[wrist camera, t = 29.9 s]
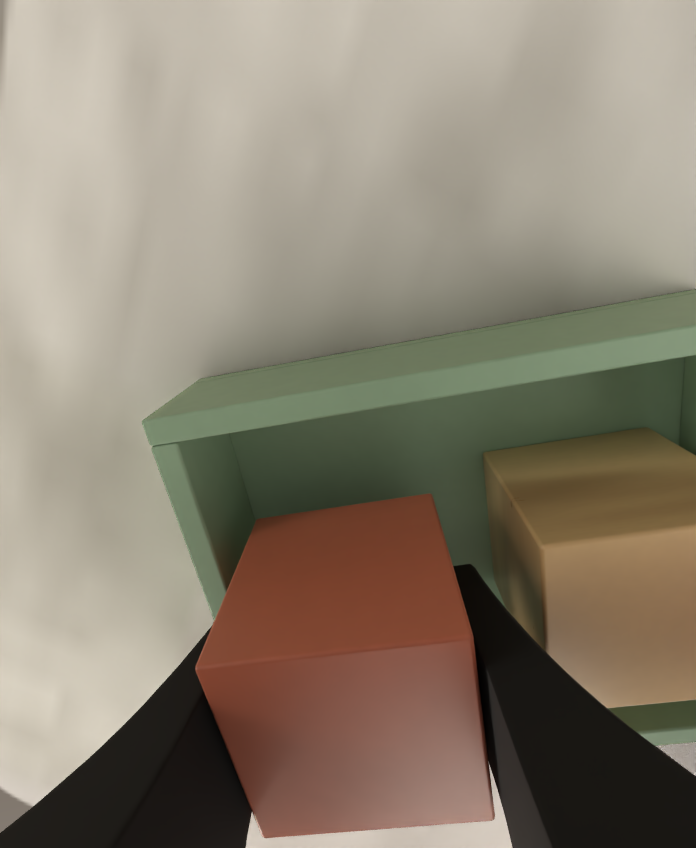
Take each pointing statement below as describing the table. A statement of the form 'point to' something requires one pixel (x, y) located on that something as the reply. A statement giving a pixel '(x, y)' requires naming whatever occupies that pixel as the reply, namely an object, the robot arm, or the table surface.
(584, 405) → the bin
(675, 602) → the beech block
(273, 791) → the terracotta block
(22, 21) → the table surface
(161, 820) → the robot arm
